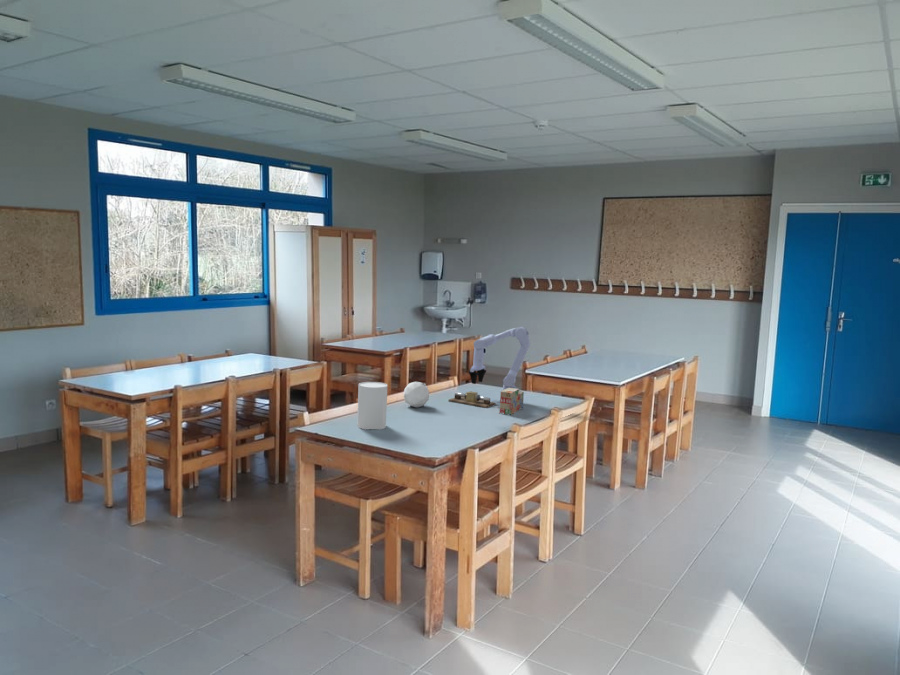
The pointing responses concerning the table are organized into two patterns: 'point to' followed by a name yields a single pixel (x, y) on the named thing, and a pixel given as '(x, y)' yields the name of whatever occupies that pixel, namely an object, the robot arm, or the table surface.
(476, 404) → the shaft bench
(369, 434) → the table surface
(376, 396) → the canister
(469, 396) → the wooden block
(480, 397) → the shafts
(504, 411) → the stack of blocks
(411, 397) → the geodesic sphere
